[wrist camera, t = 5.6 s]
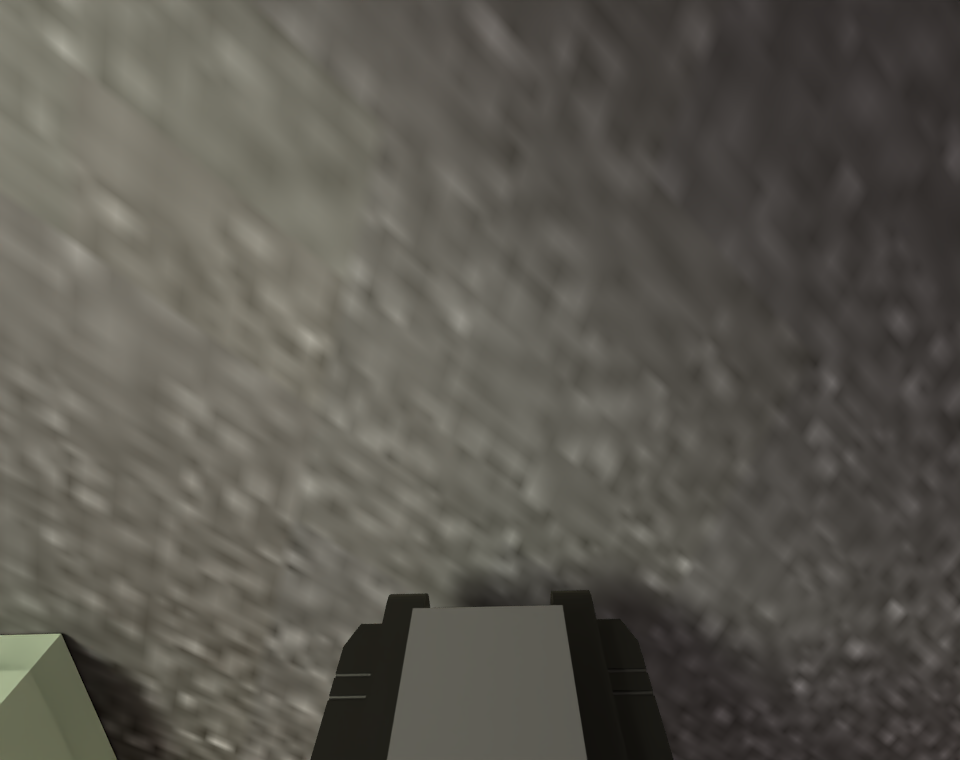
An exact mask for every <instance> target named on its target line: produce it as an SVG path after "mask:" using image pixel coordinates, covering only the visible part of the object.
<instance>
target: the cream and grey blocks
mask: <svg viewBox="0 0 960 760" xmlns="http://www.w3.org/2000/svg"><path fill="white" fill-rule="evenodd" d="M387 760H587V756H586V749H585V743H584V737H583V731H582V724H581V718H580V712H579V706H578V699H577V693H576V687H575V681H574V674H573V668H572V662H571V656H570V649H569V643H568V637H567V631H566V624H565V618H564V612H563V606H562V605H545V606H498V607H452V608H413V611H412V617H411V623H410V628H409V634H408V640H407V646H406V652H405V658H404V663H403V669H402V675H401V681H400V687H399V693H398V698H397V704H396V710H395V716H394V722H393V728H392V734H391V739H390V745H389V751H388V757H387Z"/></svg>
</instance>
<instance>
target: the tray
mask: <svg viewBox="0 0 960 760" xmlns="http://www.w3.org/2000/svg"><path fill="white" fill-rule="evenodd" d="M0 760H117V758H116V756H115V754H114V752H113V749H112V747H111V745H110V743H109V740H108V738H107V736H106V734H105V731H104V729H103V727H102V725H101V722H100V720H99V718H98V716H97V713H96V711H95V709H94V707H93V704H92V702H91V700H90V698H89V695H88V693H87V691H86V689H85V686H84V684H83V682H82V680H81V677H80V675H79V673H78V671H77V668H76V666H75V664H74V662H73V659H72V657H71V655H70V653H69V650H68V648H67V646H66V644H65V641H64V639H63V637H62V635H61V634H29V635H0Z"/></svg>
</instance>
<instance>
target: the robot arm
mask: <svg viewBox="0 0 960 760" xmlns="http://www.w3.org/2000/svg"><path fill="white" fill-rule="evenodd" d="M550 605H562V606H563V612H564V618H565V624H566V631H567V637H568V643H569V649H570V656H571V662H572V668H573V674H574V681H575V687H576V693H577V699H578V706H579V712H580V718H581V724H582V731H583V737H584V743H585V749H586V756H587V760H673V756H672V753H671V750H670V746H669V743H668V740H667V736H666V733H665V730H664V726H663V723H662V720H661V716H660V713H659V710H658V706H657V703H656V700H655V696H653V690H652V686H651V683H650V679H649V676H648V673H647V672H646V666H645V663H644V659H643V656H642V653H641V649H640V646H639V643H638V641H637V639H636V638H635V637H634V636H633V634H632V633H631V632H630V631H629V629H628V628H627V627H626V626H625V624H624V623H623V622H622V621H621V620H620V619H598V620H597V619H596V615H595V611H594V606H593V602H592V597H591V594H590V591H589V590H576V591H551V600H550ZM413 608H430V602H429V596H428V594H390V595H389V597H388V601H387V605H386V609H385V614H384V618H383V622H382V624H361V625H360V626H359V627H358V629H357V630H356V631H355V633H354V634H353V635H352V636H351V638H350V639H349V640H348V642H347V643H346V644H345V646H344V647H343V650H342V654H341V657H340V661H339V664H338V667H337V671H336V678H334V681H333V684H332V688H331V691H330V698H329V701H328V702H327V705H326V708H325V712H324V715H323V719H322V722H321V726H320V729H319V732H318V736H317V739H316V743H315V746H314V750H313V753H312V756H311V760H387V757H388V751H389V745H390V739H391V734H392V728H393V722H394V716H395V710H396V704H397V698H398V693H399V687H400V681H401V675H402V669H403V663H404V658H405V652H406V646H407V640H408V634H409V628H410V623H411V617H412V611H413Z"/></svg>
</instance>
